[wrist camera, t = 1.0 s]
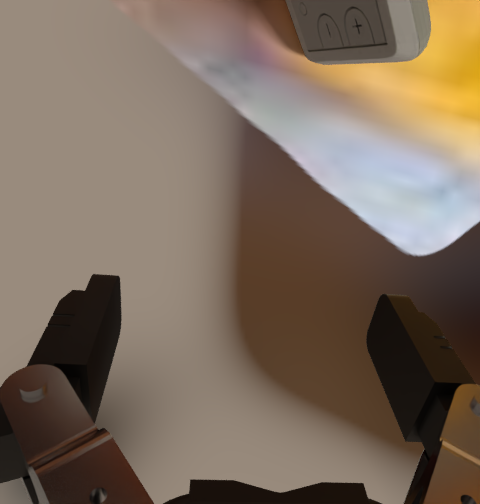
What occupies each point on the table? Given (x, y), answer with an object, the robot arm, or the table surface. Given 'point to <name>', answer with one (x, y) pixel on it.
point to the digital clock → (361, 30)
